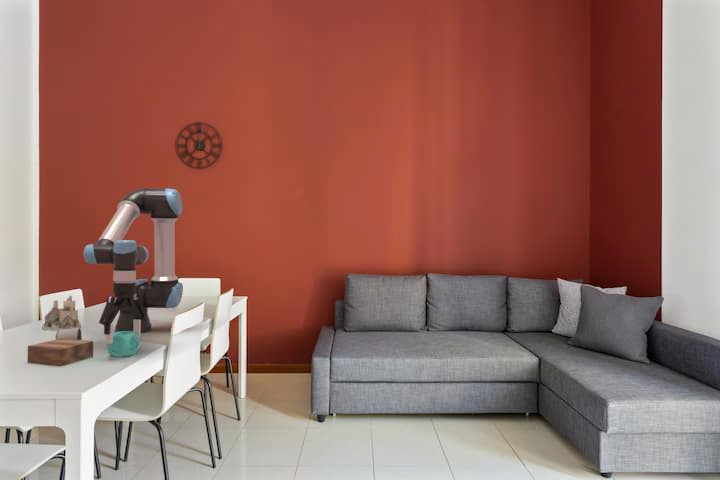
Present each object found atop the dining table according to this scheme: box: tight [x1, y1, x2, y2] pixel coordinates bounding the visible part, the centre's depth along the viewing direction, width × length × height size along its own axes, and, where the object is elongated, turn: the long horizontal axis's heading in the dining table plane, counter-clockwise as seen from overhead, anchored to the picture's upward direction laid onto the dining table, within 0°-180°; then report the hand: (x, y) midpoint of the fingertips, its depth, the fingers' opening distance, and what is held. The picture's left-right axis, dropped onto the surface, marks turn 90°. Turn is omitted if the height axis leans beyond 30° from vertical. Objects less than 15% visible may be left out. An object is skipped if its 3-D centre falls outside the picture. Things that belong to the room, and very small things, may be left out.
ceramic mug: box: [55, 328, 83, 340], centre depth 196 cm, size 10×8×7 cm
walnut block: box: [27, 338, 94, 367], centre depth 179 cm, size 14×14×6 cm
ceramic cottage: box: [41, 295, 82, 332], centre depth 234 cm, size 16×16×15 cm
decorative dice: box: [106, 331, 140, 358], centre depth 188 cm, size 8×8×8 cm
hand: (123, 340), depth 187 cm, fingers open, 13 cm apart
